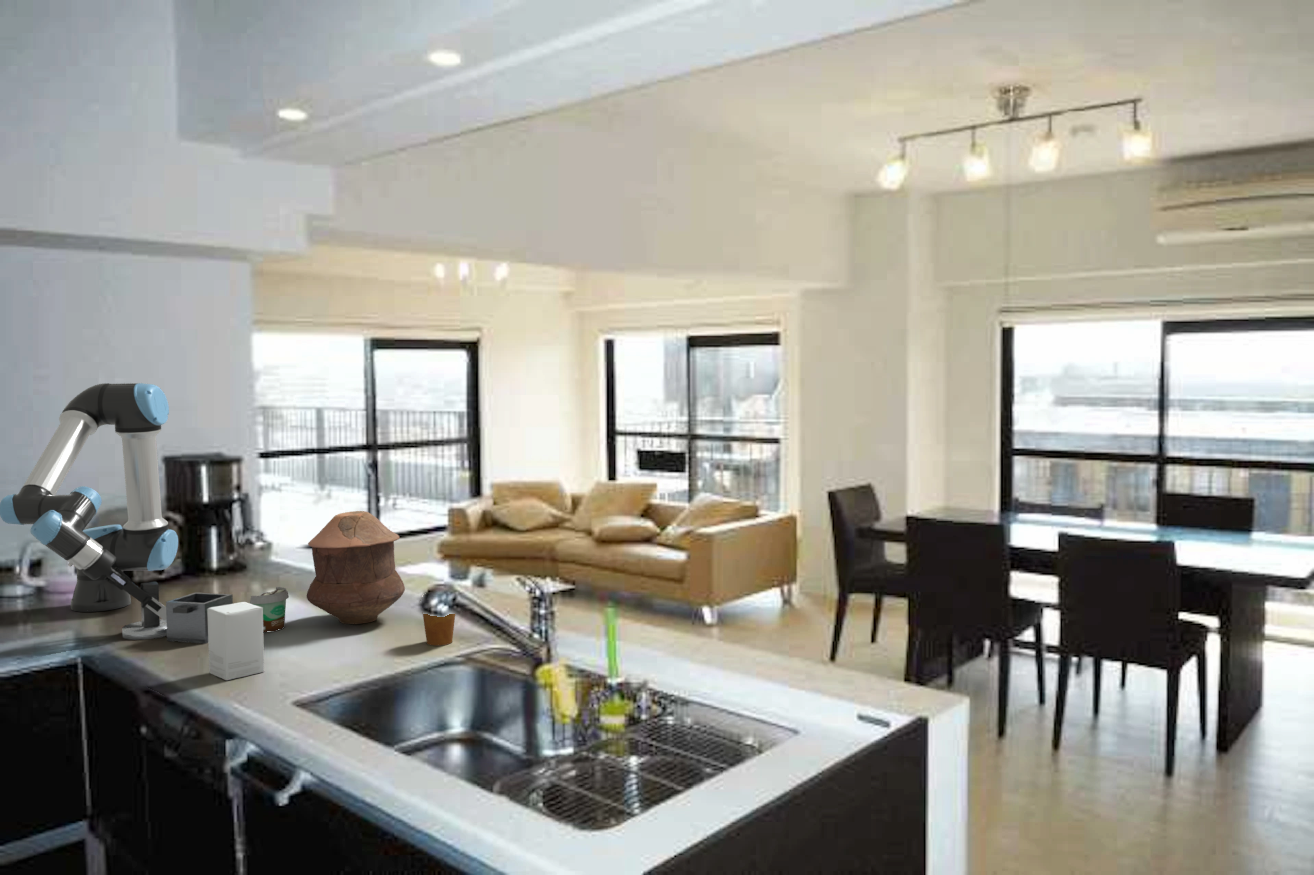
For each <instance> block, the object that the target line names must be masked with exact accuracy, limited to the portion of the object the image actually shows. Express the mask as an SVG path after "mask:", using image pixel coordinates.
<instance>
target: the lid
mask: <svg viewBox="0 0 1314 875" xmlns="http://www.w3.org/2000/svg"><path fill="white" fill-rule="evenodd" d="M159 587H160V584H159V583H158V582H157V581H147V582H141V583H140V588H141V590H143V591H144V592H145V593H147V594H148V595H150V596H152V597H153V598H154V599H156V600H157V601H158V602H160V592H159V589H160V588H159ZM142 605H143V604H142V603H141V602H140V611H141V613H140V614H141V621H140V620H139V621H136V622H131V623H128V624H126V625H124V626H123V627H122V629H121V632H122V638H123V639H126V640H134V641H135V640H136V641H137V640H138V641H139V640H140V641H141V640H153V639H154V638H155V639H161V638H165V636H166V637H167V621H166V620H163V619H162V618H161V617H159V616H158V615H157V614H155V613H154V612H153V611H151V610H150V609H148V608H147V607H146V606H145V607H144V608H143V607H141V606H142ZM160 618H161V619H160Z"/></svg>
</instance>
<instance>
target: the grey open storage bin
mask: <svg viewBox="0 0 1314 875" xmlns="http://www.w3.org/2000/svg"><path fill="white" fill-rule="evenodd" d="M229 604H234V603H233V594H230V593H215V592H213V593H212V592H210V593H209V592H193V593H189V594H187V595H183V596H180V597H178V598H177V597H176V598H173V599H171V600H167V601H165V606H166V621H167V636H166V641H167V642H174V641H178V642H177V643H189V642H191V643H190V644H203V645H204V644H205V645H206V644H208V613H207V609H208V608H211V607H216V606H223V605H229Z"/></svg>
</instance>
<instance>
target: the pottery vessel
mask: <svg viewBox="0 0 1314 875" xmlns="http://www.w3.org/2000/svg"><path fill="white" fill-rule="evenodd" d="M398 540H400V535H399V534H397V533H395V532H393V530H390V528H388V527H387V526H386V525H385V524H384V523H383V522H382V521H381V520H379V518H377V517H376V516H374V514H373V513H370V512H368V511H367V510H366V511H365V510H364V511H363V510H355V511H347V512H340V513H338V514H335V515H334V516H333V517H332V518H331V519H330V521H329V522H327V523H326V525H325V526H324V527H323V528H322V529H321V530H319V532H318V533H317V534H316V535H315V536H314V537H313V538H312V539H311V540H310V541H308V543H307V545H308V546H309V547H311V548H312V551H311V552H312V553H311V555H312V560H313V566H314V573H315V577H314V578H313V580H312V582H311V583H310V584H309V587H308V590H307V592H306V599H307V601H308V602H309V604H311V605H313V606H314V607H316V608H319V609H320V610H322V611H323V612H325V613H327V614H329V615H331V616H332V617H334V618H337V619H338V621H339V623H341V624H346V625H360V624H367V623H372V622H374V621H376V620H378V616H379V615H380V614H382V613H383V612H385V611H386V610H388V609H389V608H390V607H391V606H393V605H394V604H395V603H396V602H397V601H398V600H399V599H400V598H401V597H402V596H403V594H404V593H405V591H406V587H405V583H404V582H403V580H402V577H401V576H400V574H399V573H398V572H397V570H396V561H395V542H396V541H398Z"/></svg>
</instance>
